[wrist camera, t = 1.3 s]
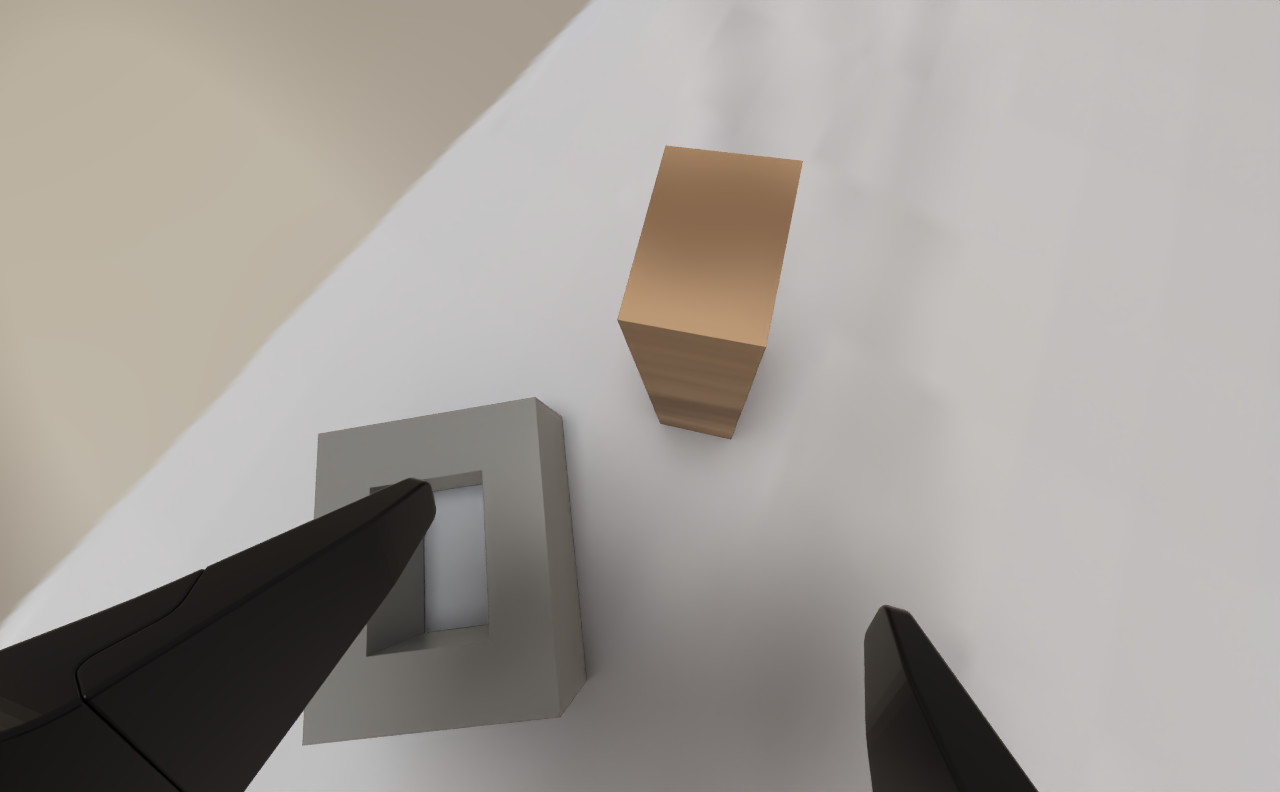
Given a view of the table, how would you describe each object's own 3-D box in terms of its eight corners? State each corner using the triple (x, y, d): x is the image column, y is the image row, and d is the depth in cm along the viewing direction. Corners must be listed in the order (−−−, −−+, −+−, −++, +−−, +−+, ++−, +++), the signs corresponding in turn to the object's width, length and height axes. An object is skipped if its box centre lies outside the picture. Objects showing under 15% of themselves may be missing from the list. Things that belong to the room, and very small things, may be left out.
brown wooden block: (730, 439, 22) (766, 346, 10) (660, 423, 23) (617, 319, 11) (750, 343, 24) (802, 160, 12) (682, 331, 24) (665, 145, 12)
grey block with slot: (586, 680, 21) (560, 717, 17) (373, 705, 21) (302, 745, 18) (561, 416, 24) (535, 397, 20) (377, 447, 25) (318, 433, 21)
